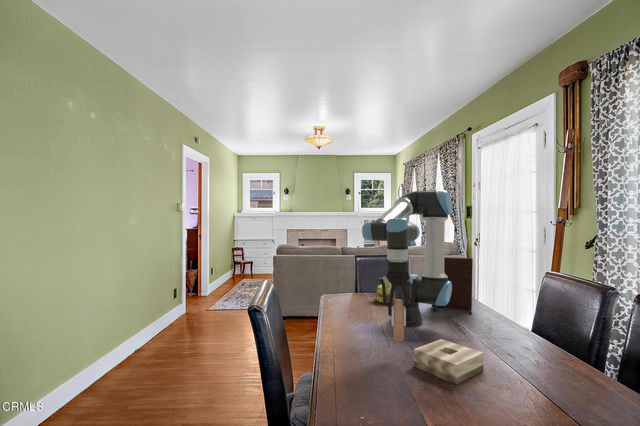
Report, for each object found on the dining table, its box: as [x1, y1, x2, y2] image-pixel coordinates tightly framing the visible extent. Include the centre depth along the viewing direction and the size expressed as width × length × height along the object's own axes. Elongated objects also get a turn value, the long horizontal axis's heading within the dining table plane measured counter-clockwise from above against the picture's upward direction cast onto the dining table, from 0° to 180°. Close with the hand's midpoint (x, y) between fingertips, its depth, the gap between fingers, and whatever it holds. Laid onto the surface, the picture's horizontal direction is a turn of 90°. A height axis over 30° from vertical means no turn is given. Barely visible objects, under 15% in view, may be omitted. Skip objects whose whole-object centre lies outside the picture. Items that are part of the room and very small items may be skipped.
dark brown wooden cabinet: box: [431, 256, 474, 316], centre depth 187 cm, size 21×11×30 cm, turn 71°
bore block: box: [413, 338, 484, 385], centre depth 115 cm, size 16×16×6 cm
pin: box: [392, 299, 405, 342], centre depth 123 cm, size 4×4×14 cm
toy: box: [375, 279, 394, 305], centre depth 208 cm, size 16×15×15 cm
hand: (398, 324), depth 123 cm, fingers closed on pin, 3 cm apart
